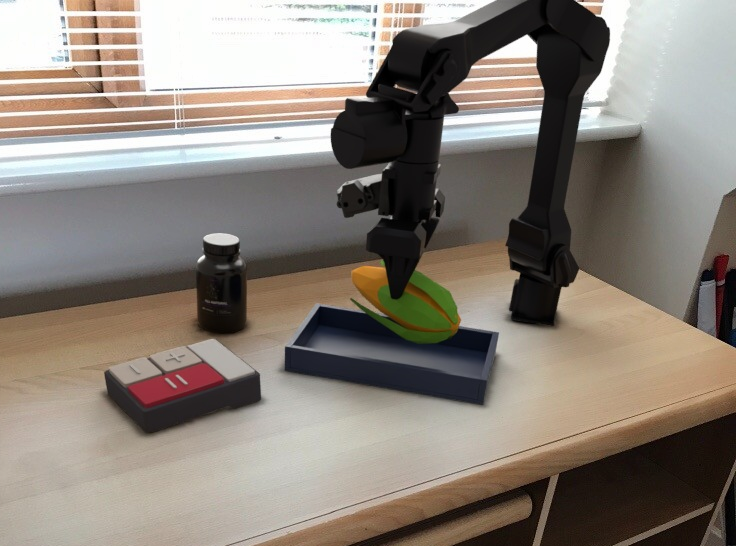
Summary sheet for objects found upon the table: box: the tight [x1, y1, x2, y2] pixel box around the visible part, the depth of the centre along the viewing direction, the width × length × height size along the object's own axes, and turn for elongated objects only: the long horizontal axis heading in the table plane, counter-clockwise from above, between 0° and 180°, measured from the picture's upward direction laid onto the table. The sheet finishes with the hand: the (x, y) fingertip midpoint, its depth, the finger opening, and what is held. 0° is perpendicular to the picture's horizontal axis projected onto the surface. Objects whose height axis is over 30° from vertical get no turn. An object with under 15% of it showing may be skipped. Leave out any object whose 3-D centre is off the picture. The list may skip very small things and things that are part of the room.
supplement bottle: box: [195, 233, 248, 334], centre depth 115 cm, size 7×7×12 cm
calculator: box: [103, 338, 262, 434], centre depth 100 cm, size 11×4×15 cm
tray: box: [283, 302, 500, 406], centre depth 111 cm, size 26×15×3 cm, turn 76°
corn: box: [349, 259, 462, 344], centre depth 108 cm, size 7×8×20 cm
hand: (401, 287), depth 106 cm, fingers closed on corn, 7 cm apart
